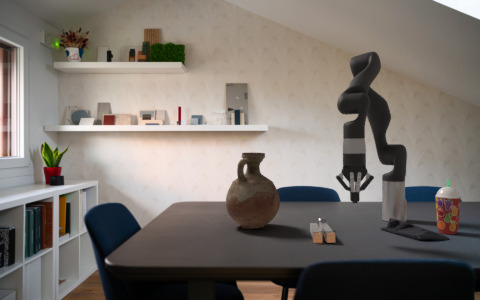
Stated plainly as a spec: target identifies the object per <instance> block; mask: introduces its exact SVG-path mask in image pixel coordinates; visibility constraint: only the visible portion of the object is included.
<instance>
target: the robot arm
mask: <svg viewBox="0 0 480 300" xmlns="http://www.w3.org/2000/svg"><path fill="white" fill-rule="evenodd" d="M381 67H382V64H381V59H380V56H379V54H378V53H377V52H376V51H368V52H365V53H362V54H359V55H355V56H352V57H350V60H349V68H350V71H351V74H352V77H353V78H352V80H350V82H349V86H348V87H347V88H346V89H345V90H343V92H342V93H341V94H340V95H339V97H338V99H337V101H336V106H337V110H338V111H339V113H340V114H342V115H346V116H347V115H357V116H356V118H355V119H354V120H350V121H346V122H344V123H343V126H342V130H343V131H342V133H343V134H342V135H343V137H342V138H343V139H342V140H343V142H342V169H341V172H340V173H339V174H338V175H336V176H335V179H336V180H337V182H339V184H340V185H341V187H342V188H343V189H344V190H345V191H348V192H349V200H350V202H352V204H358V203H359V202H360V193H361V192H362V191H365V190H366V189H367V187H368V186H369V185H370V184H371V183H372V181H373V180H374V178H375V176H374V175H371V174H370V173H369V171H368V169H367V148H366V147H367V146H366V138H365V137H366V121H367V120H368V123H369V126H370V129H371V133H372V136H373V140H374V144H375V148H376V149H375V150H376V153H377V158H378V160H379V163H381V164H382V165H383V166H393V167H392V170H391V171H389V172H386V173H384V174H382V177H381V180H382V181H381V186H382V187H381V191H382V192H381V193H382V195H381V197H382V199H381V202H382V203H381V205H382V206H381V208H382V209H381V210H382V211H381V213H382V214H381V218H382V219H381V220H382V221H385V222H389V219H390V218H394V219H397V220H400V221H403V222H406V223H408V220H407V209H408V208H407V205H408V204H407V201H408V200H407V199H406V175H407V163H408V162H407V159H408V153H407V152H408V151H407V149H406V148H407V147H406V146H405V145H404V144H401V143H400V144H399V143H397V144H396V143H393V144H390V143H388V141H387V137H386V136H387V135H386V134H387V131H388V128H389V126H390V123H391V120H392V114H391V109H390V106H389V103H388V101H387V100H386V99H385V97H383V96H382V95H381V94H379V93H378V92H377V91H376V90H375V89H373V88H372V83H373V82H374V80H375V79H376V78H377V76H378V75H379V74H380V71H381ZM344 178H345V179H346V181H347V182H348V185H347V183H346V182H345V180H344ZM364 178H365V181H364V182H363V183H361V182H362V181H363V179H364Z"/></svg>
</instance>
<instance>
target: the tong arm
mask: <svg viewBox="0 0 480 300" xmlns="http://www.w3.org/2000/svg"><path fill="white" fill-rule="evenodd" d="M319 229H320V231H321V232H322V238H324V240H325V242H326V243H330V244H331V243H332V244H333V243H334V244H336V232H335V231H334V230H332V228H331V227H330V226H329V224H328V223H327V222H326V223H325V222H319Z"/></svg>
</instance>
